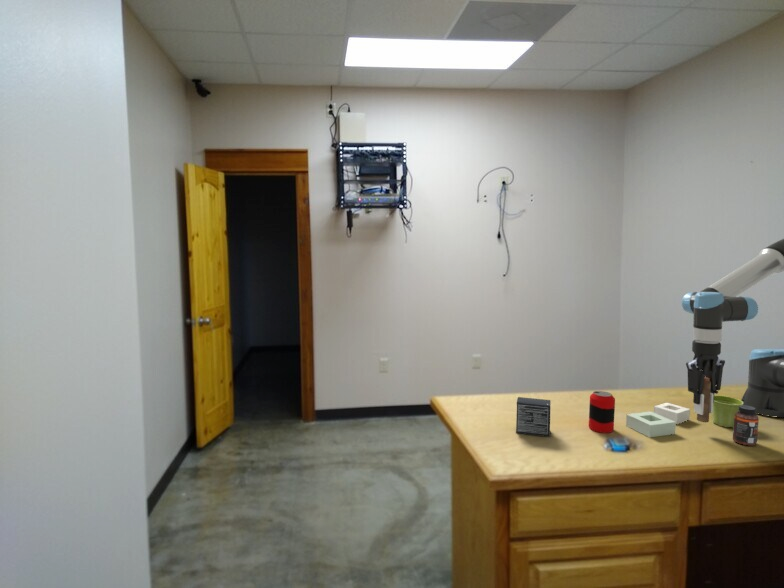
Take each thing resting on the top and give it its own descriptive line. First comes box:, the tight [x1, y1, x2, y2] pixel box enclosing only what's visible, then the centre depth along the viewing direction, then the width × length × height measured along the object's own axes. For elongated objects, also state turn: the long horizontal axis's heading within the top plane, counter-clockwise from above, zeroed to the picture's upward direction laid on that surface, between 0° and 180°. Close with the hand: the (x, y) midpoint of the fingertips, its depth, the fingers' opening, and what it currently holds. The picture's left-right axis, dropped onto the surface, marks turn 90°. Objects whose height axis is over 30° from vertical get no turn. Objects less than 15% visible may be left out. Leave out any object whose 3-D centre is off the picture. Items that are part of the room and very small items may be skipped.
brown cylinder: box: [696, 377, 711, 423], centre depth 149 cm, size 3×3×14 cm
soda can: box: [588, 390, 616, 434], centre depth 153 cm, size 8×8×12 cm
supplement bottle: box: [732, 405, 760, 447], centre depth 143 cm, size 6×6×11 cm
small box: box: [515, 396, 552, 438], centre depth 151 cm, size 11×6×10 cm, turn 71°
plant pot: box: [712, 394, 743, 428], centre depth 157 cm, size 9×9×9 cm
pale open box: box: [625, 411, 677, 438], centre depth 153 cm, size 10×10×4 cm
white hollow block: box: [653, 402, 691, 425], centre depth 163 cm, size 8×8×4 cm
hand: (703, 412), depth 149 cm, fingers closed on brown cylinder, 3 cm apart
